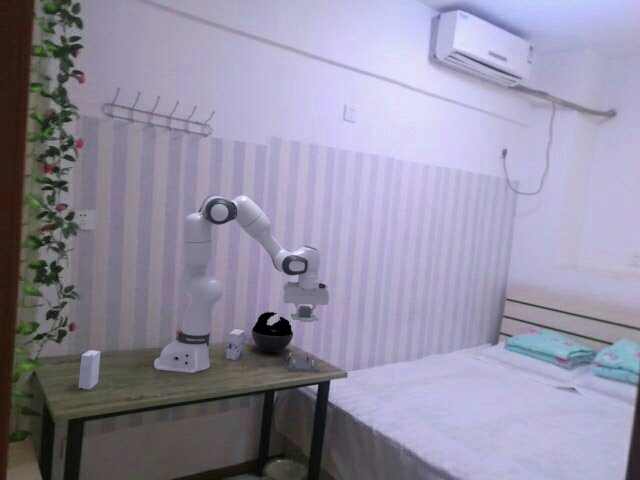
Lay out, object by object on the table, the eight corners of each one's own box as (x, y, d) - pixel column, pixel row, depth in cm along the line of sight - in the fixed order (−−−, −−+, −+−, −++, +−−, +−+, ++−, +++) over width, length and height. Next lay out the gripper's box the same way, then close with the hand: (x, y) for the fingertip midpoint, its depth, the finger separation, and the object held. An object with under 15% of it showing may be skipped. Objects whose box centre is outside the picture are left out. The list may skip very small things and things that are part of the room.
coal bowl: (248, 344, 243) (252, 306, 242) (288, 346, 247) (292, 309, 246) (250, 357, 224) (254, 316, 223) (293, 359, 228) (298, 319, 226)
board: (294, 321, 210) (295, 310, 210) (289, 314, 223) (290, 303, 222) (319, 322, 213) (320, 311, 212) (313, 315, 225) (314, 304, 225)
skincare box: (86, 382, 175) (88, 349, 174) (98, 383, 175) (101, 350, 174) (77, 388, 169) (80, 354, 168) (90, 390, 169) (93, 356, 168)
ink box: (232, 353, 226) (235, 328, 225) (242, 355, 225) (245, 330, 224) (225, 358, 218) (227, 332, 217) (235, 360, 217) (238, 334, 216)
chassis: (287, 371, 211) (289, 360, 210) (282, 359, 225) (283, 349, 225) (319, 372, 214) (320, 361, 214) (312, 360, 228) (313, 351, 228)
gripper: (285, 282, 211) (282, 314, 212) (331, 285, 216) (328, 316, 217) (283, 280, 217) (280, 310, 218) (327, 282, 222) (324, 312, 223)
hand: (304, 313), depth 217 cm, fingers closed on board, 4 cm apart
